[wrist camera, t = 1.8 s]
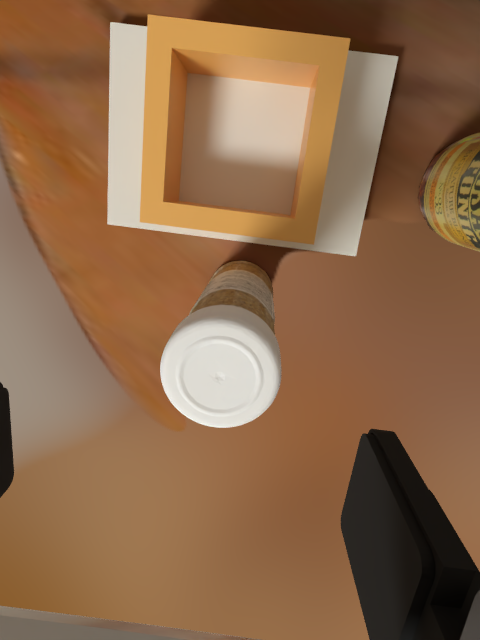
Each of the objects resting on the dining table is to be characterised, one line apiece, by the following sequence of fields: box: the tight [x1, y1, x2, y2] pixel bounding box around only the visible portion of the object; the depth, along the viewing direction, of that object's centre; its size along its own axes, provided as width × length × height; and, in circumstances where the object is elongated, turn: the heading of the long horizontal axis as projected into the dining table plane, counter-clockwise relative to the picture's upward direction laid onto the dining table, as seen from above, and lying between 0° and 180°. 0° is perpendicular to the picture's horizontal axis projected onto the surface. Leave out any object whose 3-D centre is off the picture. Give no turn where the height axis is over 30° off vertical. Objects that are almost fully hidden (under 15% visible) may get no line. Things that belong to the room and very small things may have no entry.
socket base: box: [107, 15, 398, 256], centre depth 22 cm, size 16×11×5 cm
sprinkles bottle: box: [160, 261, 281, 428], centre depth 21 cm, size 5×5×14 cm
